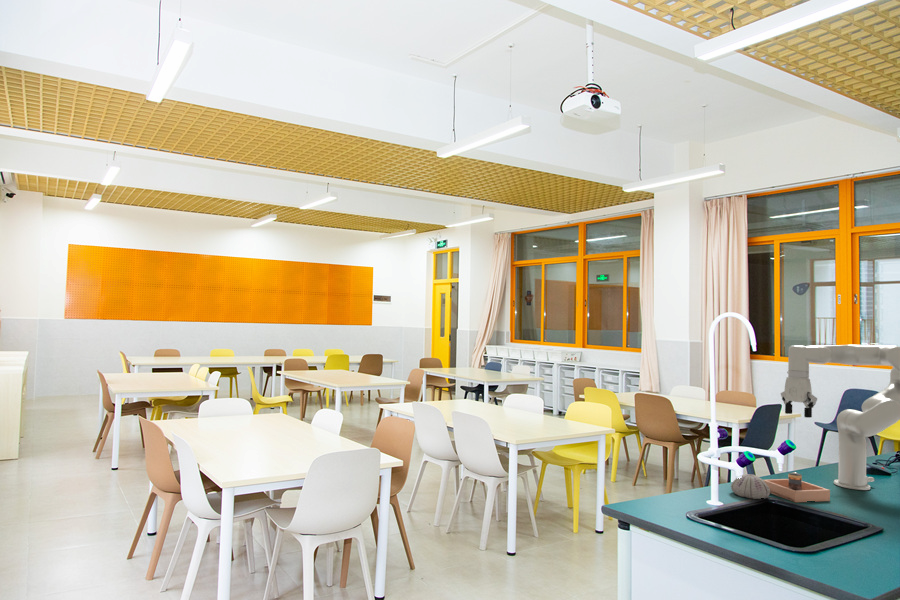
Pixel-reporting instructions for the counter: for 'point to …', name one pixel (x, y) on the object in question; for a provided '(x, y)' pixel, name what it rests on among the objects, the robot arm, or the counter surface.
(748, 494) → the sea urchin shell
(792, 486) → the battery cell
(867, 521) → the counter surface
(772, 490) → the tray
